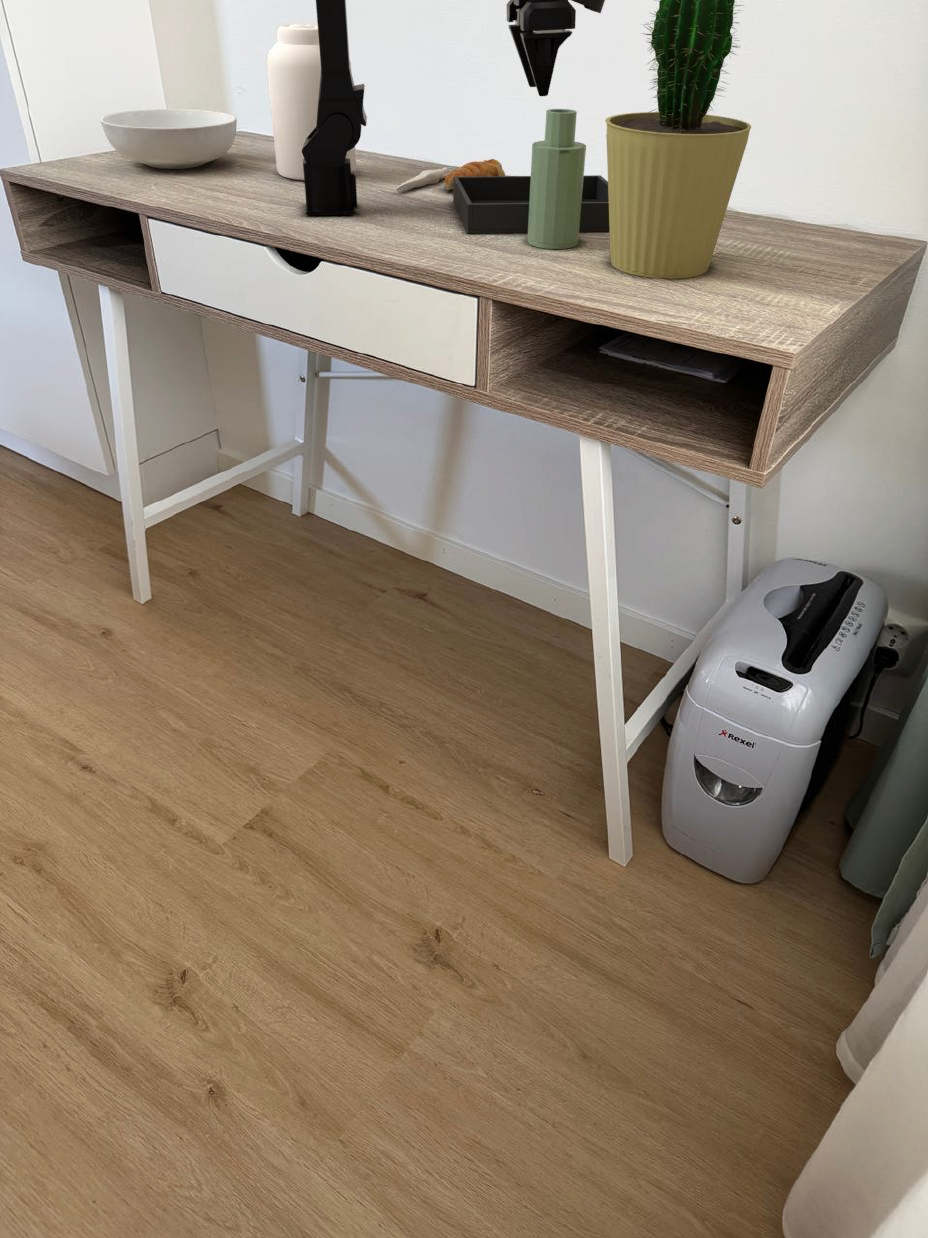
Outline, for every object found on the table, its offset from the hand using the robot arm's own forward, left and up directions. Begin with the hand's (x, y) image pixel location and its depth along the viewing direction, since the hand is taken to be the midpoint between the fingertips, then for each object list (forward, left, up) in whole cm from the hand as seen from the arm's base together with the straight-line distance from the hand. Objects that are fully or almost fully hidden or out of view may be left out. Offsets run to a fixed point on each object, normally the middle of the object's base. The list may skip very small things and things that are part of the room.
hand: (538, 91), depth 121 cm
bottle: (-1, -17, -15) cm, 23 cm away
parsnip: (-14, +17, -15) cm, 27 cm away
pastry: (-6, +14, -15) cm, 21 cm away
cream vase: (-30, +26, -15) cm, 42 cm away
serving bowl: (-53, +35, -15) cm, 65 cm away
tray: (0, -4, -15) cm, 15 cm away
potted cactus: (+10, -28, -15) cm, 33 cm away
